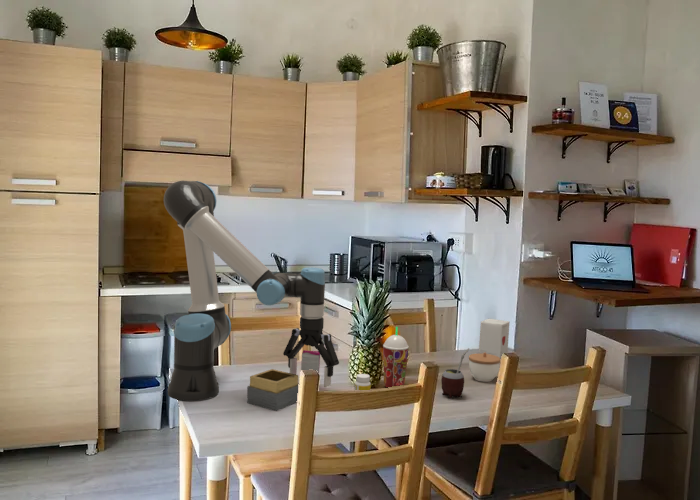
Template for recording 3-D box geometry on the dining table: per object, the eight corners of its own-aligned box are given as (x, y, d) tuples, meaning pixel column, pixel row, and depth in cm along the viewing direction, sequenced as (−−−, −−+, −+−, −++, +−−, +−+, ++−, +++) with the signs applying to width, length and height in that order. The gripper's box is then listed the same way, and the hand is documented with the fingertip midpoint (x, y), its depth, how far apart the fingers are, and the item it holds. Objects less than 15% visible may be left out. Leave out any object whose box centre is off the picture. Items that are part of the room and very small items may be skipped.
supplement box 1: (318, 390, 199) (319, 355, 198) (299, 390, 199) (300, 354, 198) (319, 385, 205) (320, 350, 204) (301, 384, 205) (302, 349, 204)
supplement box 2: (499, 363, 241) (502, 324, 239) (477, 359, 245) (479, 321, 244) (507, 358, 248) (510, 321, 247) (486, 354, 253) (488, 317, 252)
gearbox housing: (247, 402, 185) (247, 376, 184) (271, 393, 194) (271, 368, 194) (276, 411, 179) (277, 383, 178) (299, 401, 188) (300, 375, 188)
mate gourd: (438, 397, 197) (440, 350, 195) (444, 390, 204) (446, 345, 203) (462, 401, 194) (464, 353, 193) (467, 394, 201) (469, 348, 200)
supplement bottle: (373, 403, 189) (374, 376, 188) (362, 406, 186) (363, 379, 185) (361, 399, 192) (362, 372, 192) (350, 402, 189) (352, 375, 188)
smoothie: (407, 391, 202) (410, 330, 200) (381, 390, 202) (384, 329, 200) (405, 383, 210) (408, 324, 208) (380, 382, 210) (383, 323, 208)
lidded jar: (464, 380, 216) (466, 354, 215) (471, 373, 226) (472, 347, 225) (496, 385, 212) (498, 358, 211) (501, 377, 222) (503, 351, 221)
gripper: (351, 320, 196) (348, 386, 198) (288, 309, 210) (286, 372, 212) (338, 324, 190) (335, 392, 192) (273, 313, 203) (272, 377, 205)
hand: (309, 382), depth 202 cm, fingers open, 13 cm apart
